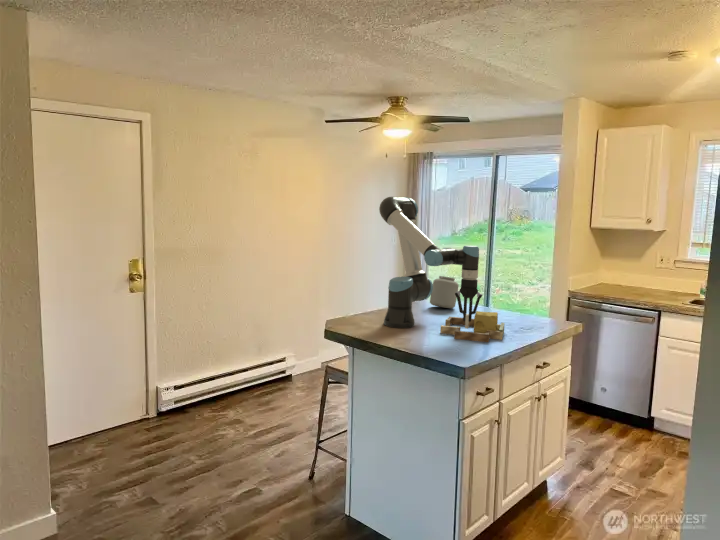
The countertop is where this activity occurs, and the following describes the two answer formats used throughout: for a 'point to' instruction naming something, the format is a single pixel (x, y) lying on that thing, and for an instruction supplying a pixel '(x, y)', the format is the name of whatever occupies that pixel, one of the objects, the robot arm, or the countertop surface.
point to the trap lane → (470, 335)
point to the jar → (444, 292)
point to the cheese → (485, 321)
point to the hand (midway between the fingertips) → (466, 327)
